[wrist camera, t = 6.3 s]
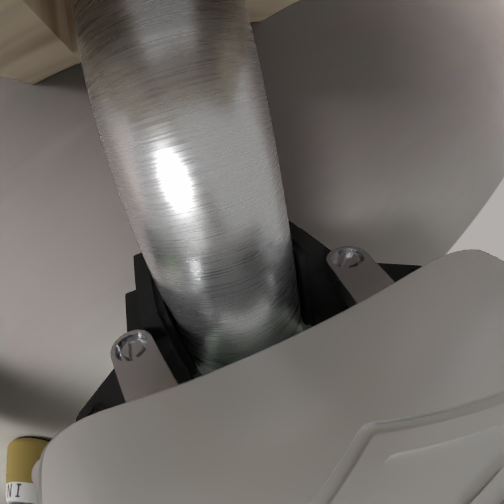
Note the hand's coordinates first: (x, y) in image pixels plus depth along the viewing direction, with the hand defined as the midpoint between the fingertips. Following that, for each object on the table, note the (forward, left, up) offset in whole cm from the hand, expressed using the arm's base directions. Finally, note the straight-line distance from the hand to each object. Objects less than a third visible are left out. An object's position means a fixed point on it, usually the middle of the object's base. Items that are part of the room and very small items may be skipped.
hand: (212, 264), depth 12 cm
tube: (-2, 0, +1) cm, 2 cm away
